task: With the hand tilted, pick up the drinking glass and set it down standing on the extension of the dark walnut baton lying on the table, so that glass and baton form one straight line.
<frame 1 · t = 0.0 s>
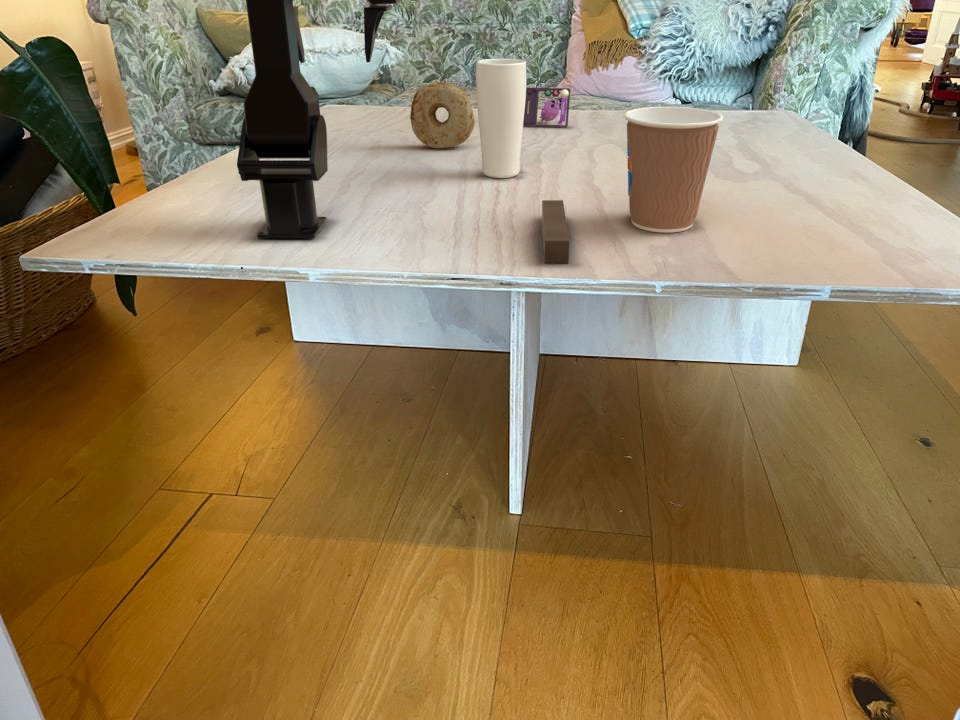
hand: (335, 62, 102), 15 cm above the table, tool pointing down, fingers open, 9 cm apart
bagel: (442, 149, 120), on the table
coffee cup: (661, 225, 85), on the table
purple printed box: (544, 125, 136), on the table
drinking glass: (501, 175, 105), on the table
baton: (553, 240, 80), on the table
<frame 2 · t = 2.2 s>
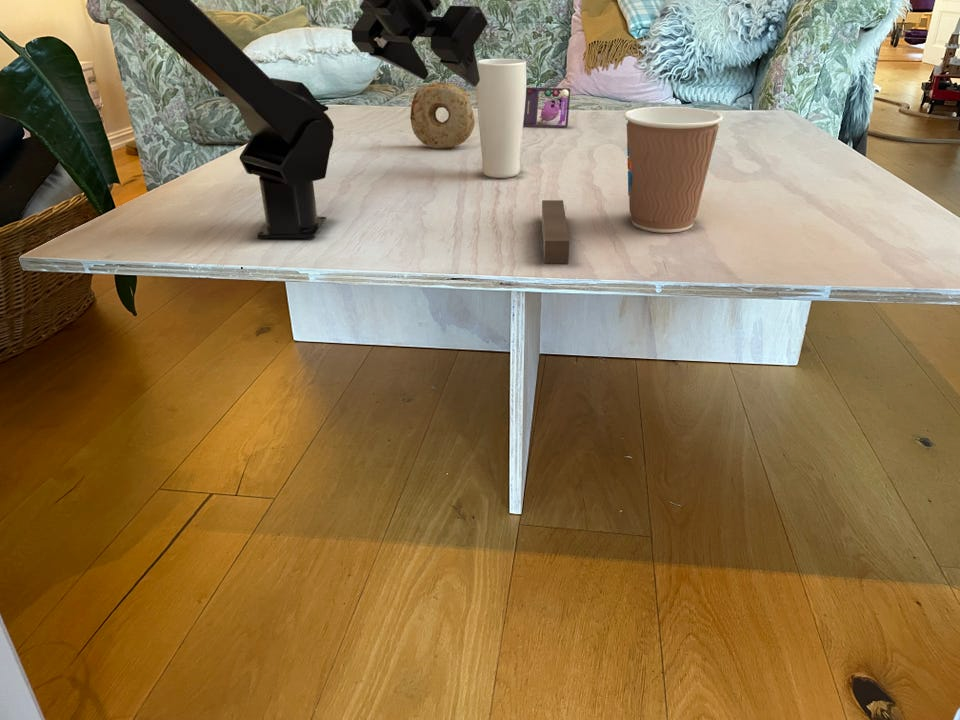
hand: (450, 79, 94), 13 cm above the table, tool tilted 40°, fingers open, 9 cm apart
nothing on the table moved.
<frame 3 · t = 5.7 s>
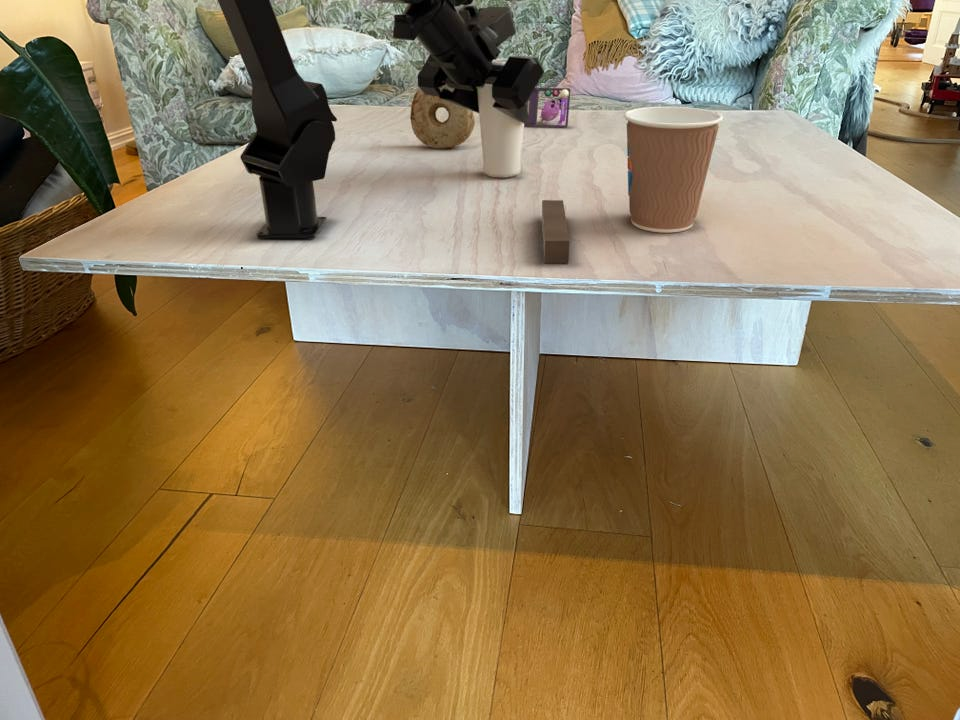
hand: (508, 117, 102), 8 cm above the table, tool tilted 45°, fingers closed on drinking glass, 6 cm apart
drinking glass: (502, 175, 105), on the table, touching gripper
everything else where it was.
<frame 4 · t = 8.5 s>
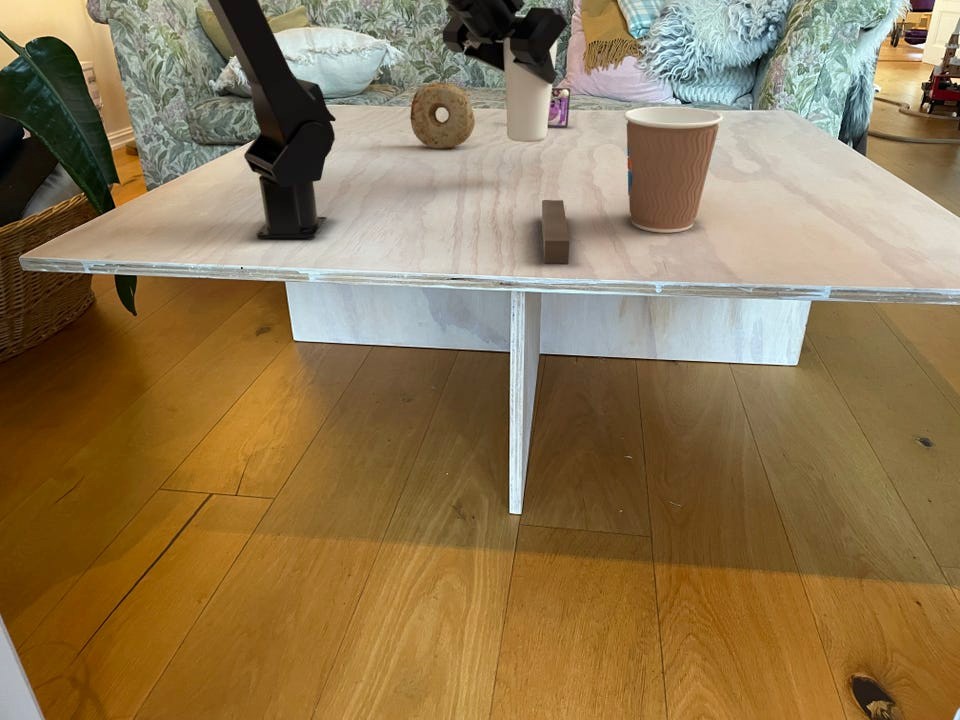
hand: (536, 78, 96), 13 cm above the table, tool tilted 45°, fingers closed on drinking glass, 6 cm apart
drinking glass: (526, 141, 98), point 6 cm above the table, touching gripper
everything else where it was.
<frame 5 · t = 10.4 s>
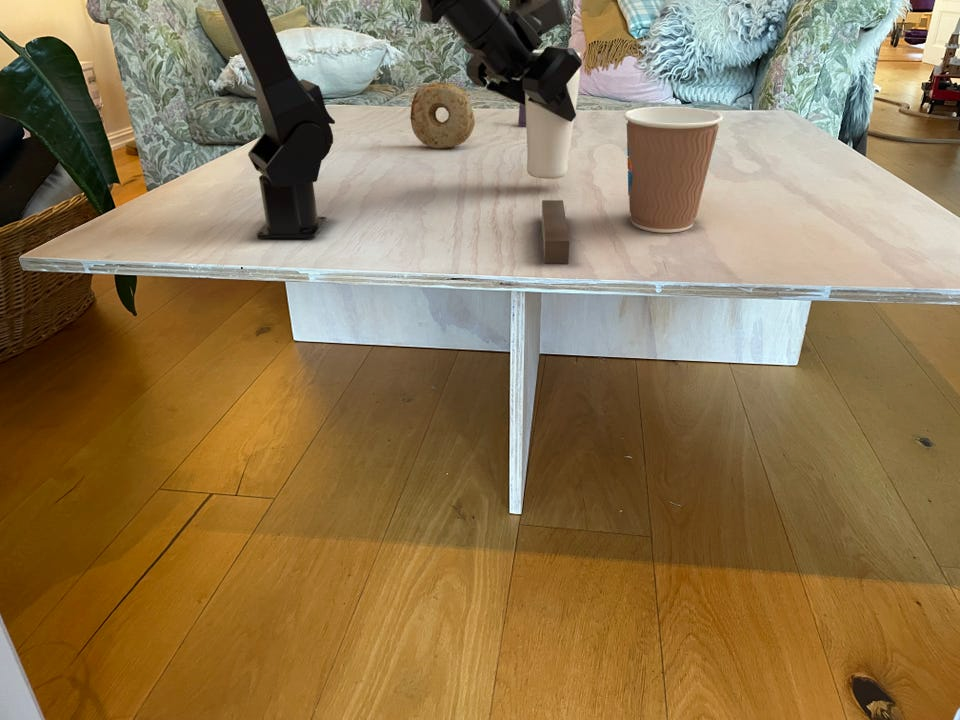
hand: (558, 114, 94), 9 cm above the table, tool tilted 45°, fingers closed on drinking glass, 6 cm apart
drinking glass: (546, 176, 97), point 2 cm above the table, touching gripper
everything else where it was.
when the fingers open (8 cm above the table, at t = 11.6 s): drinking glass stays where it is, on the table.
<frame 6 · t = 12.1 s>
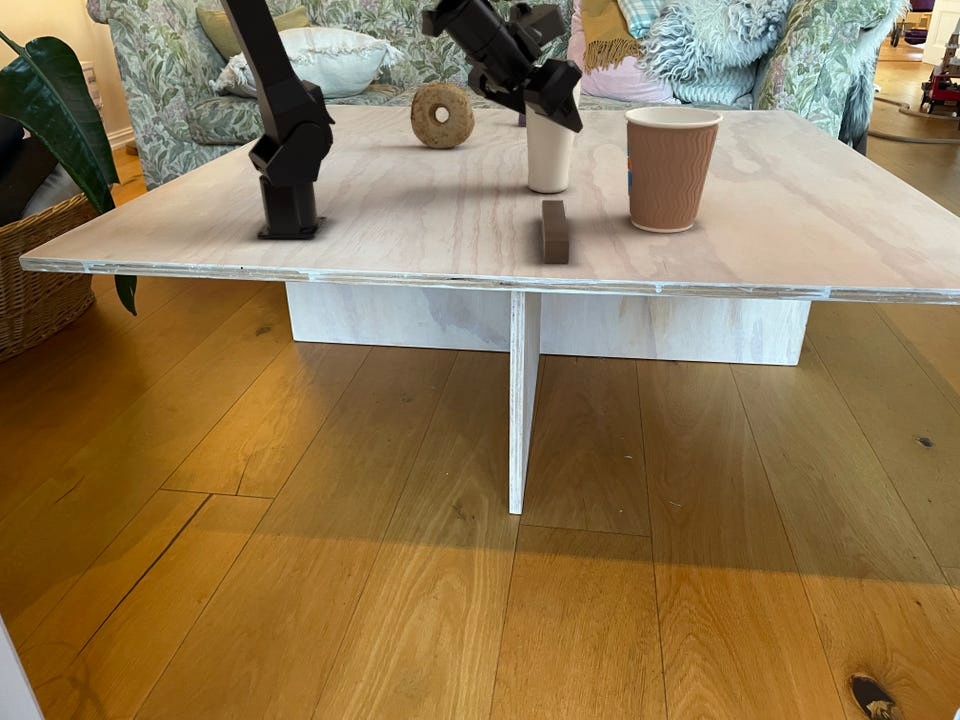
hand: (559, 123, 95), 8 cm above the table, tool tilted 45°, fingers open, 9 cm apart
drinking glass: (547, 190, 98), on the table
everything else where it was.
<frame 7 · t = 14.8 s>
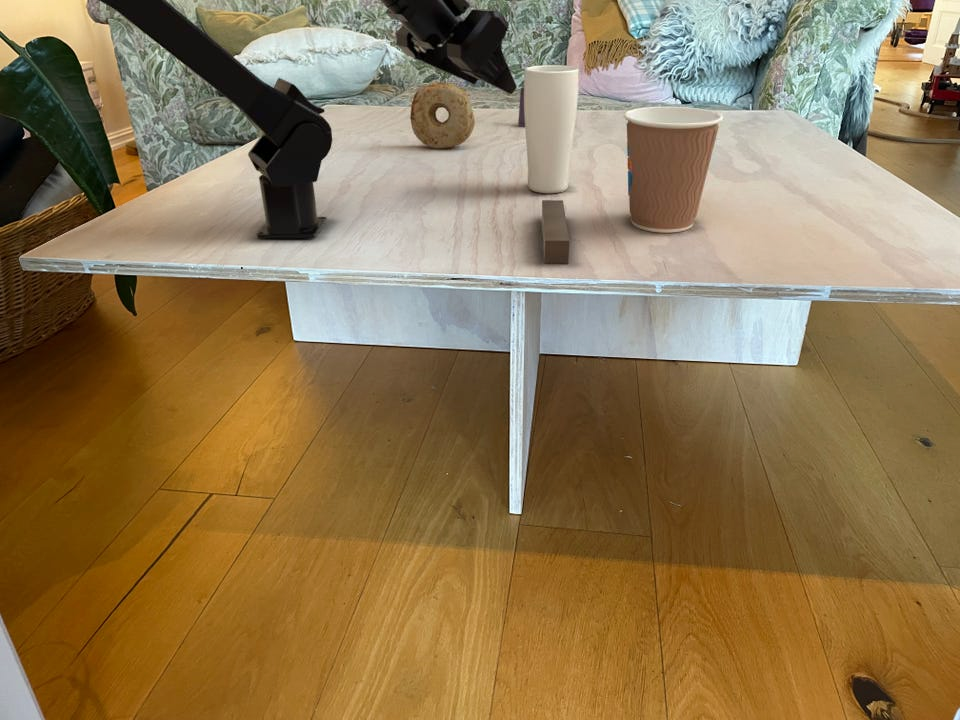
hand: (494, 85, 88), 14 cm above the table, tool tilted 45°, fingers open, 9 cm apart
nothing on the table moved.
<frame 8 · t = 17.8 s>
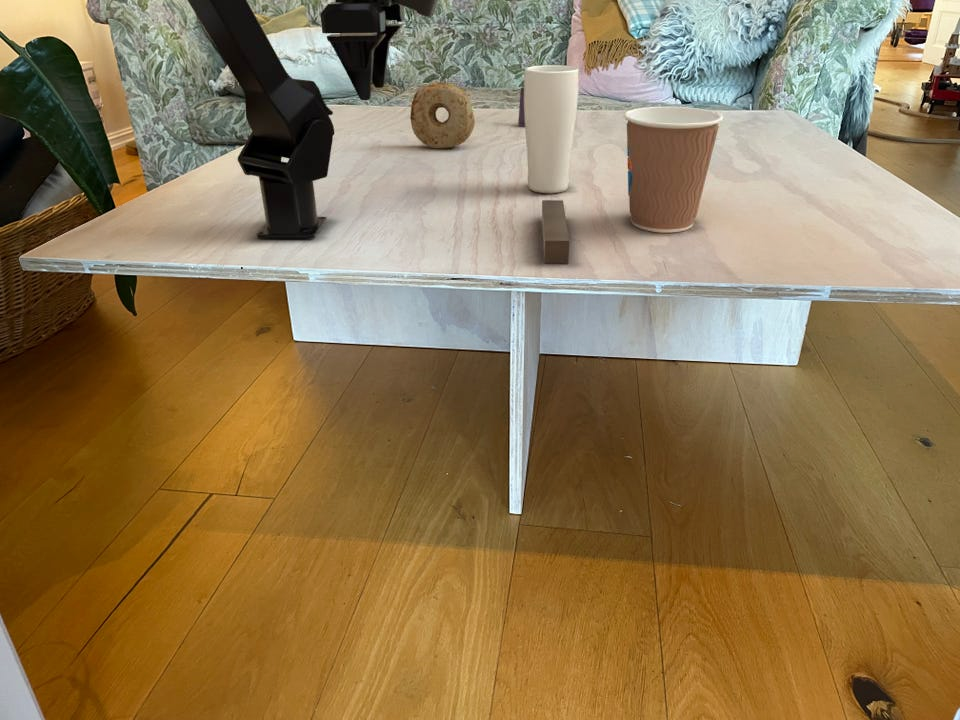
hand: (372, 93, 88), 13 cm above the table, tool pointing down, fingers open, 9 cm apart
nothing on the table moved.
at the end: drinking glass inside the target area on the table beside the baton (0.2 cm from its centre), on the table; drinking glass tilted 0°; the gripper is holding nothing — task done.
